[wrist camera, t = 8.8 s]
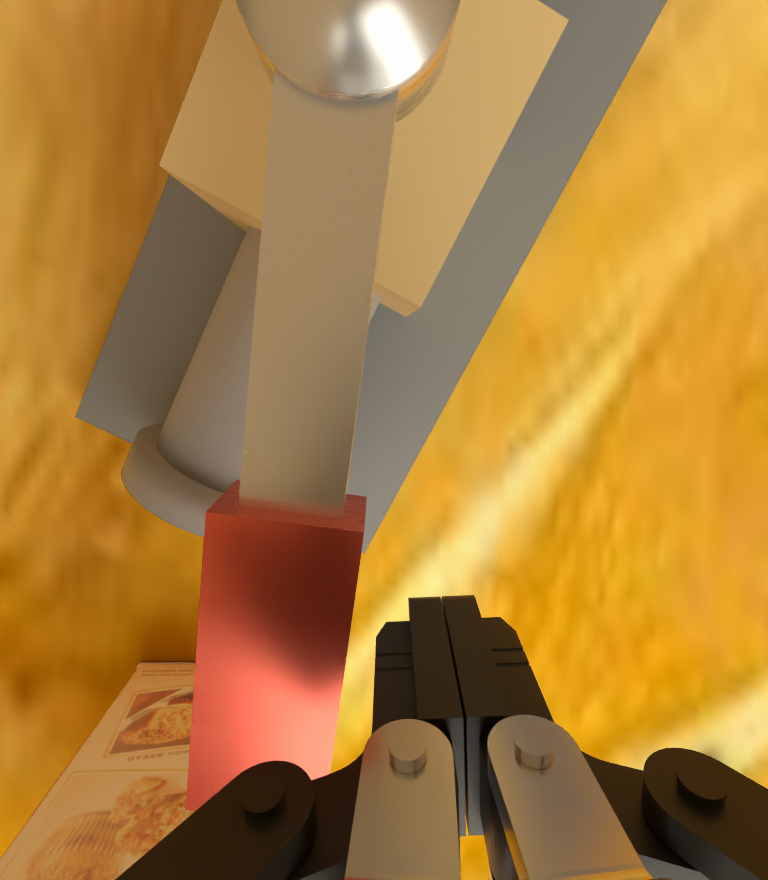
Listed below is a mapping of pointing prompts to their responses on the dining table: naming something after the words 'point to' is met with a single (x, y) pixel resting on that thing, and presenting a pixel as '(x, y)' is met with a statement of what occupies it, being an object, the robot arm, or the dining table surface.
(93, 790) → the coffeecake box
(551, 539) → the dining table surface
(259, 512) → the lever
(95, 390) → the valve stand
